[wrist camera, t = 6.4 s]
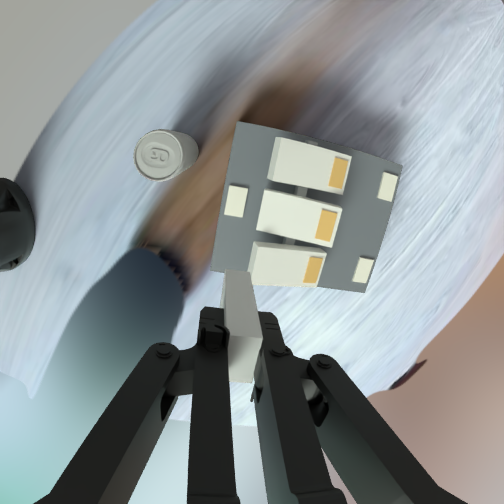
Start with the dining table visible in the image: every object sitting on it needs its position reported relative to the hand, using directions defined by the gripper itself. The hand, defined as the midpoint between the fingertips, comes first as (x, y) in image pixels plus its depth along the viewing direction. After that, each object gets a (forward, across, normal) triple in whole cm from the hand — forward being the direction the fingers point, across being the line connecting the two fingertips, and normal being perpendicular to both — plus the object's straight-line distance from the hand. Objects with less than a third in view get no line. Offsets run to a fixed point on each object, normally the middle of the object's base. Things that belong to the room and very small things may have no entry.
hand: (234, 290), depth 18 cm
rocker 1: (+13, +7, +8) cm, 16 cm away
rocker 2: (+13, +7, +2) cm, 15 cm away
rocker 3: (+13, +7, -3) cm, 15 cm away
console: (+21, +9, +2) cm, 23 cm away
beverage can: (+22, -7, +7) cm, 24 cm away
